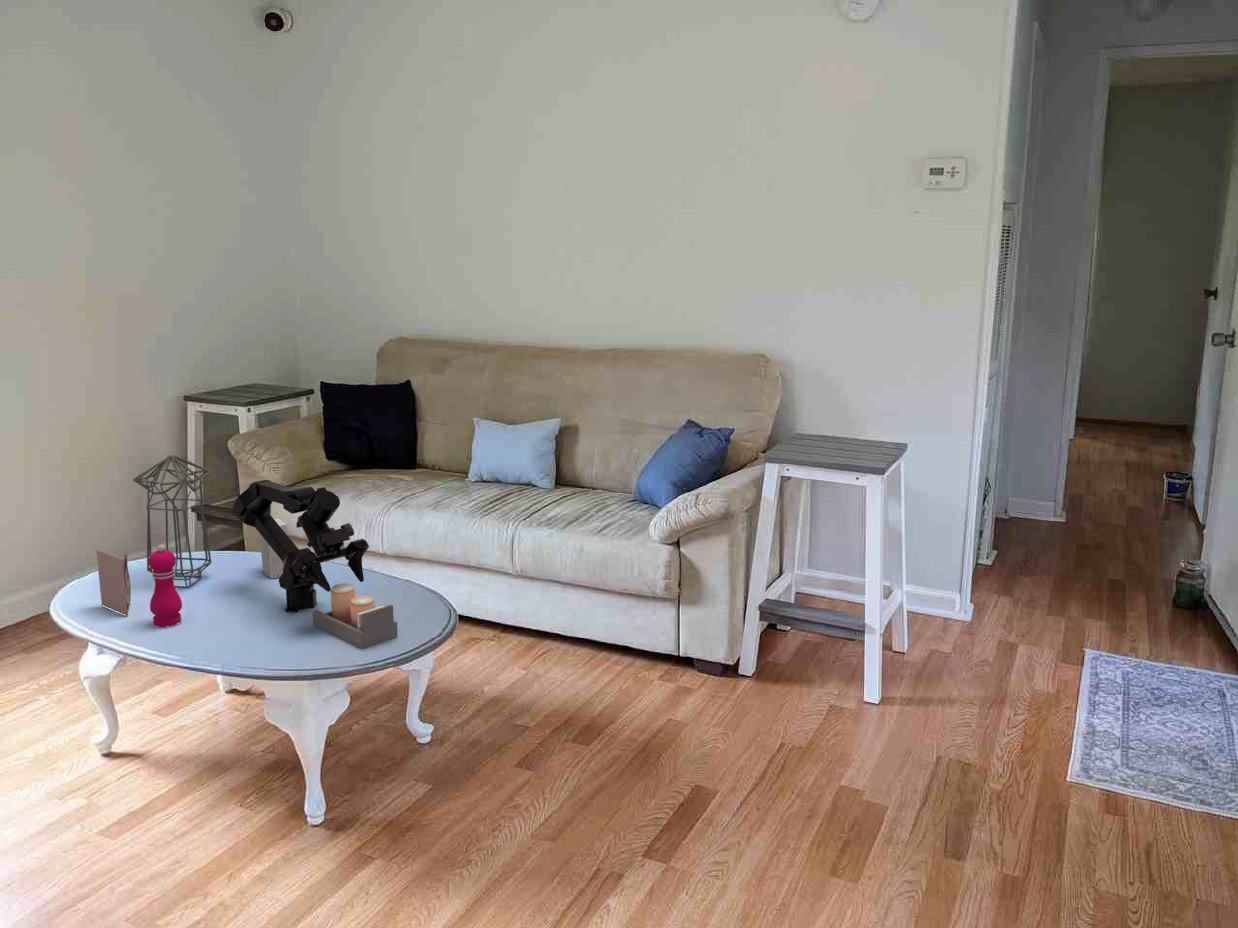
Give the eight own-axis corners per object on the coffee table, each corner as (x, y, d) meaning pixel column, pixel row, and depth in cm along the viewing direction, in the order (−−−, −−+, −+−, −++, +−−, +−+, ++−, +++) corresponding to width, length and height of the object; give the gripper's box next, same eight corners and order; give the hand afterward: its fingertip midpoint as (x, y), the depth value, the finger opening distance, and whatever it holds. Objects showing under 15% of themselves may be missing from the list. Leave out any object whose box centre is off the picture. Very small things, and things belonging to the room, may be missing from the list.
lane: (313, 628, 258) (311, 593, 256) (348, 617, 265) (347, 583, 263) (362, 651, 245) (360, 615, 243) (397, 639, 253) (396, 604, 251)
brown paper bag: (131, 616, 263) (126, 559, 259) (98, 619, 260) (92, 561, 257) (134, 600, 273) (129, 545, 270) (102, 603, 271) (97, 547, 267)
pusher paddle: (358, 641, 248) (357, 613, 247) (384, 632, 254) (383, 605, 252) (363, 644, 247) (362, 616, 245) (389, 635, 252) (389, 607, 251)
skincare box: (291, 576, 293) (288, 524, 290) (269, 579, 290) (266, 527, 287) (282, 567, 300) (279, 516, 297) (260, 570, 297) (257, 519, 293)
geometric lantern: (138, 590, 281) (126, 460, 273) (170, 571, 296) (160, 448, 288) (194, 593, 278) (183, 463, 271) (223, 574, 294) (215, 450, 286)
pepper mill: (190, 619, 262) (183, 542, 257) (168, 630, 255) (162, 551, 250) (166, 615, 264) (159, 538, 259) (144, 625, 257) (137, 547, 253)
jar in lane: (348, 638, 250) (347, 603, 248) (354, 629, 256) (353, 594, 254) (372, 639, 250) (370, 603, 248) (377, 630, 256) (376, 595, 254)
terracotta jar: (335, 631, 254) (333, 592, 252) (330, 623, 259) (328, 585, 257) (358, 627, 257) (357, 589, 255) (352, 619, 262) (351, 581, 259)
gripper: (295, 522, 247) (325, 578, 243) (363, 507, 261) (392, 560, 256) (279, 547, 254) (307, 602, 250) (346, 531, 268) (373, 582, 263)
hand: (346, 586), depth 255 cm, fingers open, 9 cm apart
